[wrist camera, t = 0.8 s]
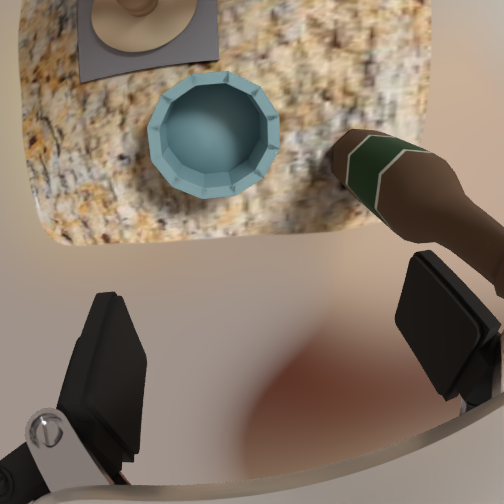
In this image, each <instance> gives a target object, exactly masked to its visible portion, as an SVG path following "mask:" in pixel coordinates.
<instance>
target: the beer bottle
mask: <svg viewBox="0 0 504 504" xmlns="http://www.w3.org/2000/svg"><path fill="white" fill-rule="evenodd" d="M332 173H333V174H334V175H335V176H336V177H337V178H338V179H339V181H340V182H341V183H342V184H343V185H344V186H345V187H346V189H347V190H348V191H349V192H350V193H351V194H352V195H353V196H354V197H355V198H357V199H358V200H359V201H360V202H361V203H362V204H364V205H365V206H366V207H367V208H368V209H369V210H370V211H371V212H373V213H374V214H375V215H376V216H377V217H378V218H379V219H380V220H381V221H382V222H384V223H385V224H386V225H387V226H388V227H389V228H390V229H391V230H392V231H393V232H395V233H396V234H397V235H399V236H400V237H401V238H403V239H404V240H407V241H410V242H414V243H430V242H436V243H438V244H440V245H442V246H444V247H445V248H447V249H449V250H451V251H452V252H453V253H454V254H456V255H457V256H458V257H460V258H461V259H462V260H463V261H465V262H466V263H467V264H469V265H470V266H471V267H472V268H474V269H475V270H476V271H477V272H479V273H480V274H481V275H482V276H483V277H485V278H486V279H487V280H488V281H489V282H491V283H492V284H493V285H494V287H495V291H496V294H497V296H499V297H501V298H503V299H504V227H503V226H502V225H501V224H499V223H498V222H497V221H496V220H495V219H493V218H492V217H491V216H490V215H488V214H487V213H486V212H485V211H483V210H482V209H481V208H479V207H478V206H477V205H475V204H474V203H473V202H472V201H471V200H470V199H469V198H468V197H467V196H466V195H465V193H464V191H463V188H462V186H461V184H460V182H459V180H458V178H457V176H456V174H455V172H454V171H453V169H452V168H451V167H450V165H449V164H448V163H447V162H446V161H445V160H444V159H442V158H441V157H439V156H437V155H435V154H434V153H432V152H430V151H427V150H425V149H423V148H420V147H418V146H416V145H413V144H411V143H408V142H406V141H403V140H401V139H398V138H396V137H393V136H390V135H388V134H385V133H382V132H378V131H374V130H361V129H351V130H350V131H349V132H348V133H347V134H346V135H345V136H344V137H343V138H342V139H341V140H339V141H338V142H337V143H336V144H335V145H334V146H333V160H332Z"/></svg>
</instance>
